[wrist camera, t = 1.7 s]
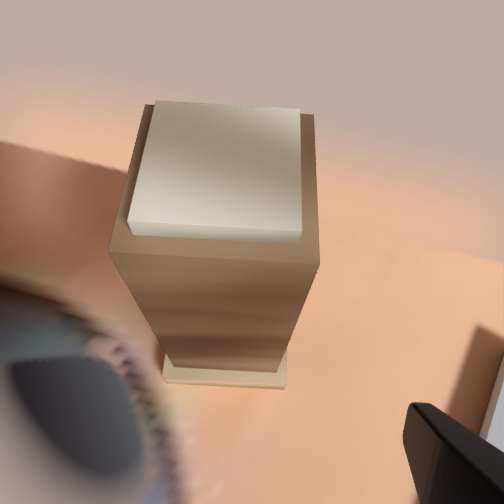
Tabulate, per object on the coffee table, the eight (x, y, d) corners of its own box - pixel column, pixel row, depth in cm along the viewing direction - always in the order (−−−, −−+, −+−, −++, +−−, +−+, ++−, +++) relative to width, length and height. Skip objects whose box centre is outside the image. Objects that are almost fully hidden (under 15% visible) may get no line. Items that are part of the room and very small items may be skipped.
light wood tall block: (283, 389, 20) (348, 273, 9) (166, 383, 20) (71, 257, 9) (284, 282, 23) (334, 87, 12) (181, 276, 23) (126, 74, 12)
